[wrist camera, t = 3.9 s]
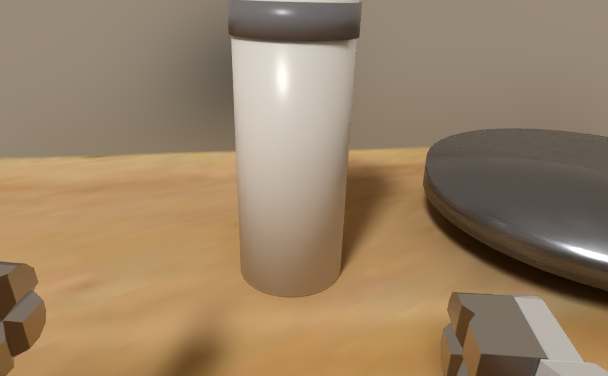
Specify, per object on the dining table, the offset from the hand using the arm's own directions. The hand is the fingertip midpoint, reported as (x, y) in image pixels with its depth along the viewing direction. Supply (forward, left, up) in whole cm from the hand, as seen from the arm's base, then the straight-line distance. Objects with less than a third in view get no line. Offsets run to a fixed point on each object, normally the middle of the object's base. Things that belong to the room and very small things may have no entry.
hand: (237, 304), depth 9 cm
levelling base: (-16, -16, -7) cm, 23 cm away
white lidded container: (0, -11, -7) cm, 13 cm away
